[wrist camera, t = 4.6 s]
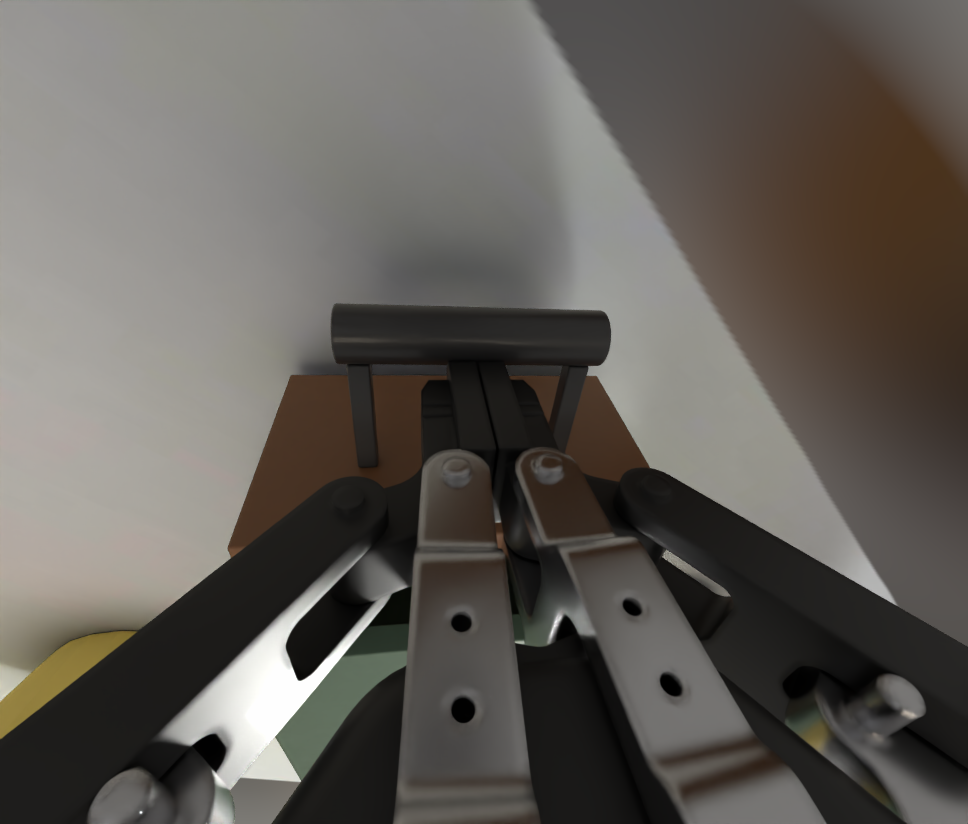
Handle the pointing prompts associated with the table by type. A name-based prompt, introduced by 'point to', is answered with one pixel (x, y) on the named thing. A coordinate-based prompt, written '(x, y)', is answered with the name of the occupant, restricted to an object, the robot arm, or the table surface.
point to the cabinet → (348, 690)
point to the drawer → (397, 405)
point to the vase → (56, 676)
